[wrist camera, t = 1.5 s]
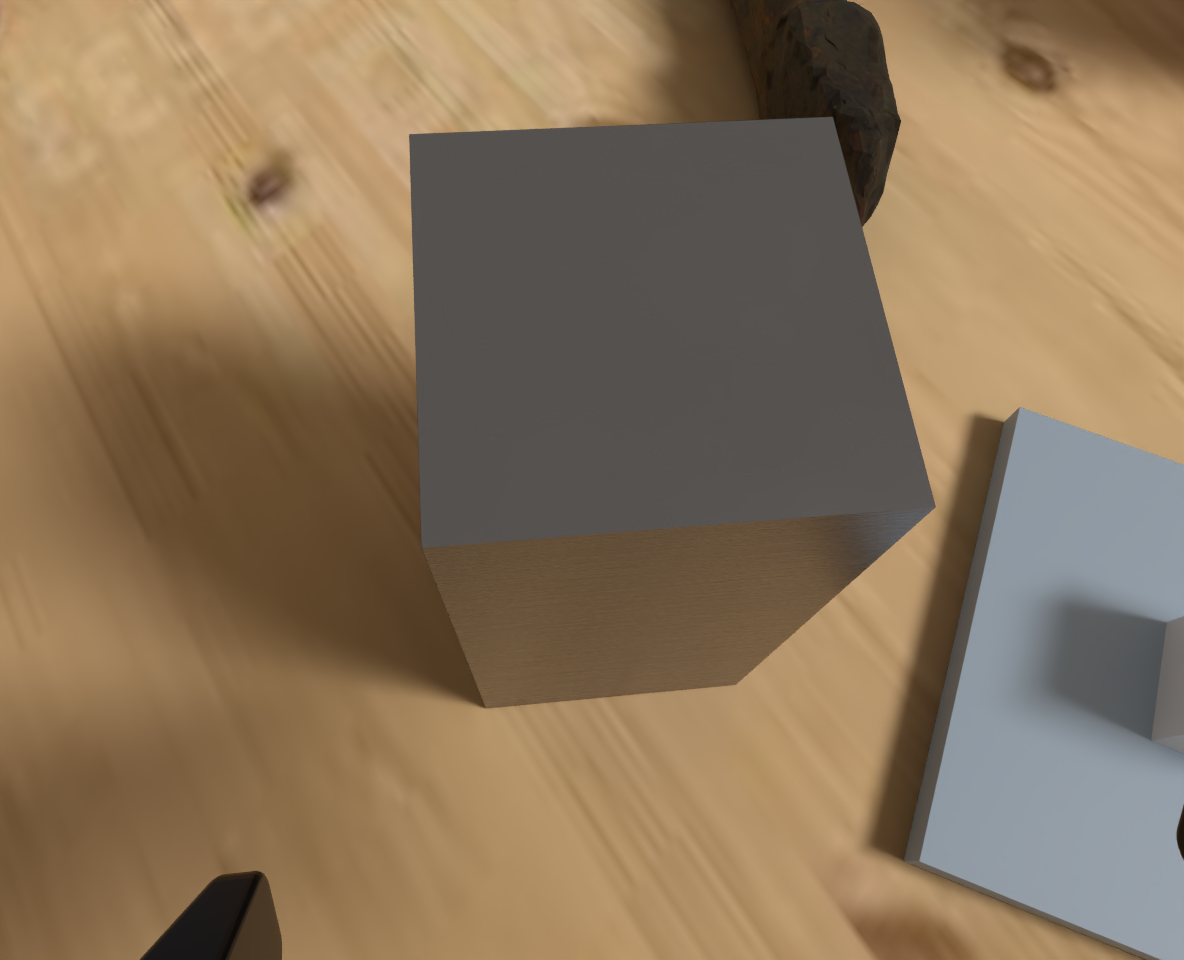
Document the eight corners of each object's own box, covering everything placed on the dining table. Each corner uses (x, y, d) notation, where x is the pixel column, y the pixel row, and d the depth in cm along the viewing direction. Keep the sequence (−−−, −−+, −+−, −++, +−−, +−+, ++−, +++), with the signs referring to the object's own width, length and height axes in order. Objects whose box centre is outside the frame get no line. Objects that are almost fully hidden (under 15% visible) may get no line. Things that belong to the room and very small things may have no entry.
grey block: (735, 684, 22) (936, 507, 11) (485, 708, 21) (421, 548, 10) (699, 458, 24) (832, 116, 13) (473, 475, 23) (409, 134, 12)
